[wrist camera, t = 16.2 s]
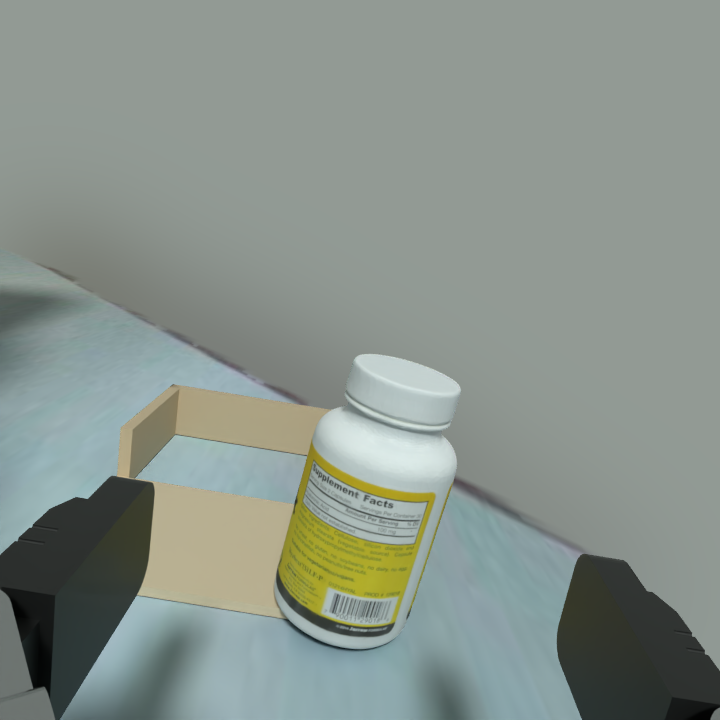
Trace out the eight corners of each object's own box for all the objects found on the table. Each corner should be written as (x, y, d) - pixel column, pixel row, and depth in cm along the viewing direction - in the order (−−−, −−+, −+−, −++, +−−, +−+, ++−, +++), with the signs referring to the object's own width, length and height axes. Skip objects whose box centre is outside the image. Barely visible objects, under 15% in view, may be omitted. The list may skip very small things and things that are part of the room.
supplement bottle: (332, 550, 28) (394, 346, 26) (429, 622, 25) (508, 397, 23) (240, 586, 24) (305, 346, 22) (344, 678, 21) (432, 408, 19)
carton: (317, 624, 24) (329, 553, 23) (25, 577, 24) (27, 505, 23) (343, 457, 40) (350, 413, 39) (168, 429, 40) (172, 384, 39)
